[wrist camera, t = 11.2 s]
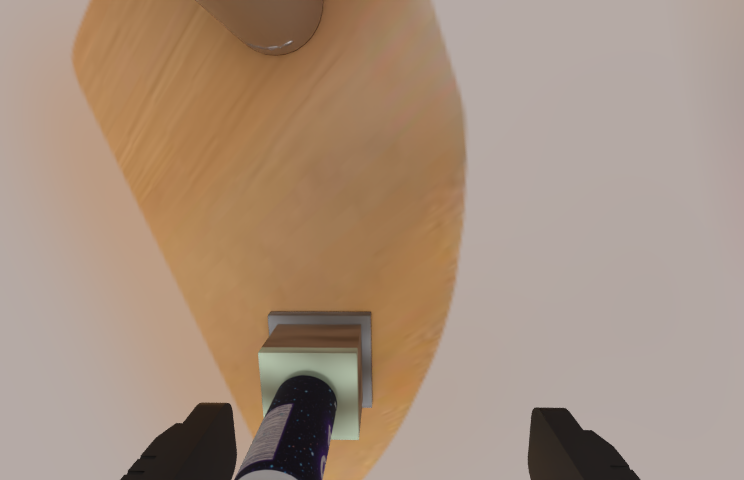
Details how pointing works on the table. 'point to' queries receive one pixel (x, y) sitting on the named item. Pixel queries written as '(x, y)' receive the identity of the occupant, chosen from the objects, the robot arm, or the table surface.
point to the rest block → (321, 360)
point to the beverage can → (293, 433)
